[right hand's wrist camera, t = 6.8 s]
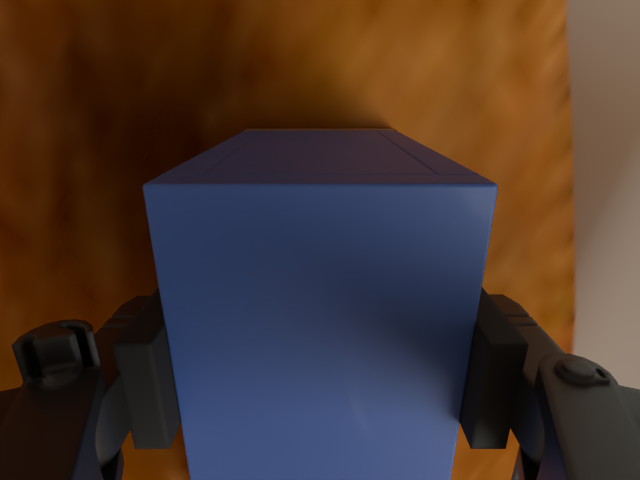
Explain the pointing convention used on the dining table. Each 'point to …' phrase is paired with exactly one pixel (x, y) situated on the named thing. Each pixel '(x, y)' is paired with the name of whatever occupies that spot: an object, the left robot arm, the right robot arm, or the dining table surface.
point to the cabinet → (320, 302)
